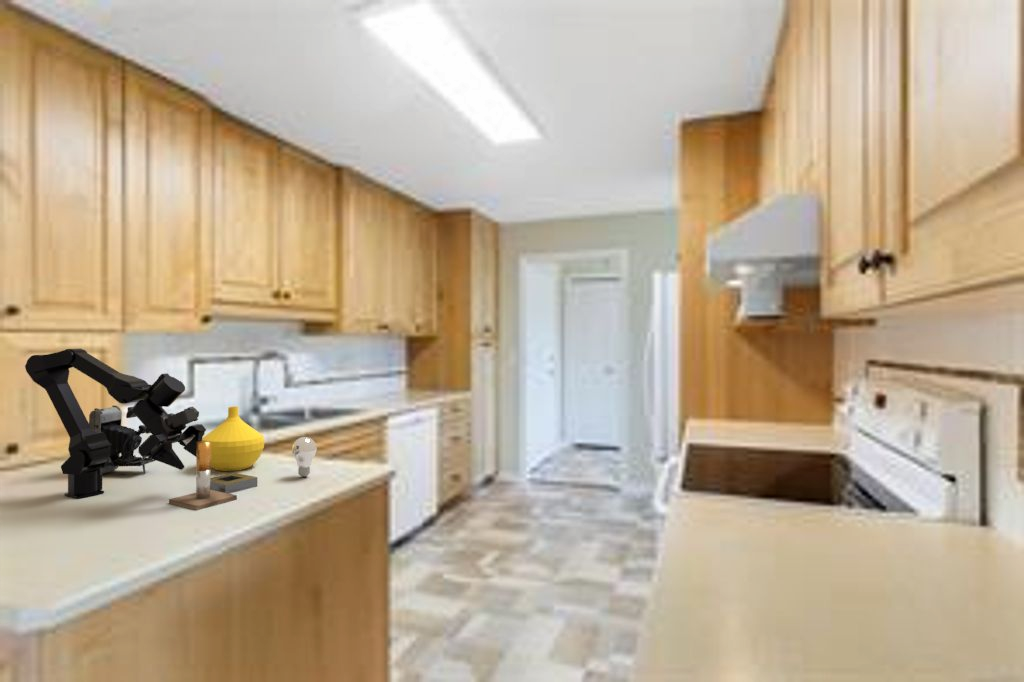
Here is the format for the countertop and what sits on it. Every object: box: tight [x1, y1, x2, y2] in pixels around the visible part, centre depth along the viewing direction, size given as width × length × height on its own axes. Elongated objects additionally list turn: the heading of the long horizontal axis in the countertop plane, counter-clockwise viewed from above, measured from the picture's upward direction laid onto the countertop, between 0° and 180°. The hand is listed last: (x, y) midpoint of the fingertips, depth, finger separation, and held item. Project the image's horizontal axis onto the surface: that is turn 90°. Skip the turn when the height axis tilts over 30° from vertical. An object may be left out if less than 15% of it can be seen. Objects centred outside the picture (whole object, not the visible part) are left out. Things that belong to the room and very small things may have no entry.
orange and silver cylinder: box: [195, 441, 212, 499], centre depth 152 cm, size 3×3×14 cm
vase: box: [202, 406, 265, 472], centre depth 189 cm, size 18×18×19 cm
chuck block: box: [210, 472, 258, 494], centre depth 166 cm, size 10×10×2 cm
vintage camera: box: [88, 405, 156, 475], centre depth 179 cm, size 10×15×20 cm, turn 89°
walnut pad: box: [168, 490, 238, 511], centre depth 152 cm, size 11×11×1 cm
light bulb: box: [291, 436, 318, 478], centre depth 179 cm, size 7×7×12 cm
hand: (195, 464), depth 153 cm, fingers open, 9 cm apart
